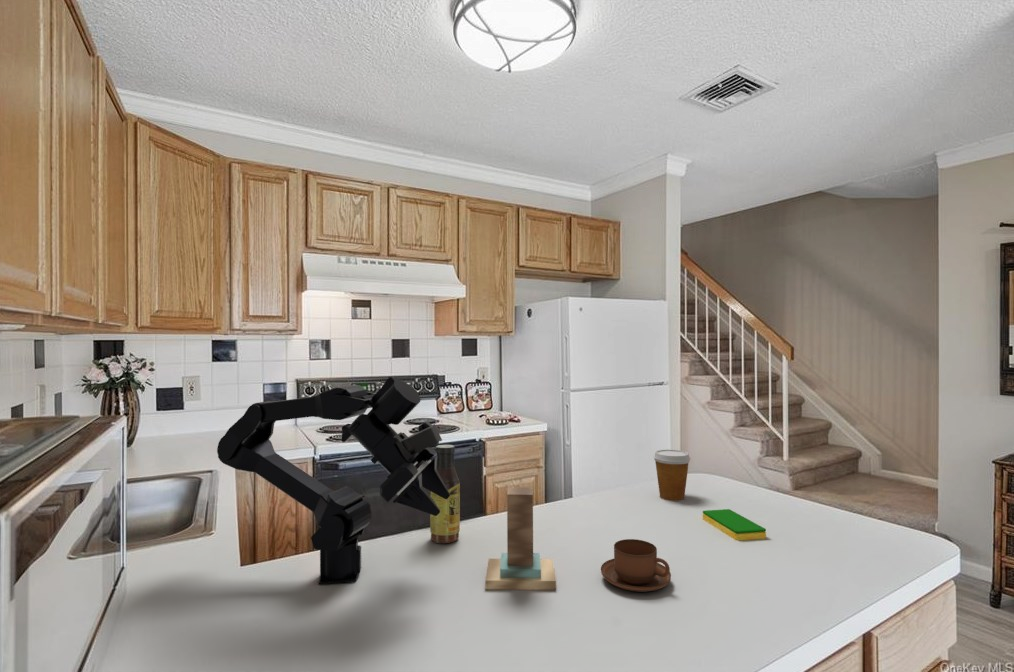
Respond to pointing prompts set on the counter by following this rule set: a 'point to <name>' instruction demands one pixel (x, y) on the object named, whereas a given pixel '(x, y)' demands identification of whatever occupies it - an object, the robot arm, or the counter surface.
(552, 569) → the plinth
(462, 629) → the counter surface
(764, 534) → the dish sponge
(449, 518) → the sauce bottle
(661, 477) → the disposable coffee cup
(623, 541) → the cup and saucer
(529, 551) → the pillar
